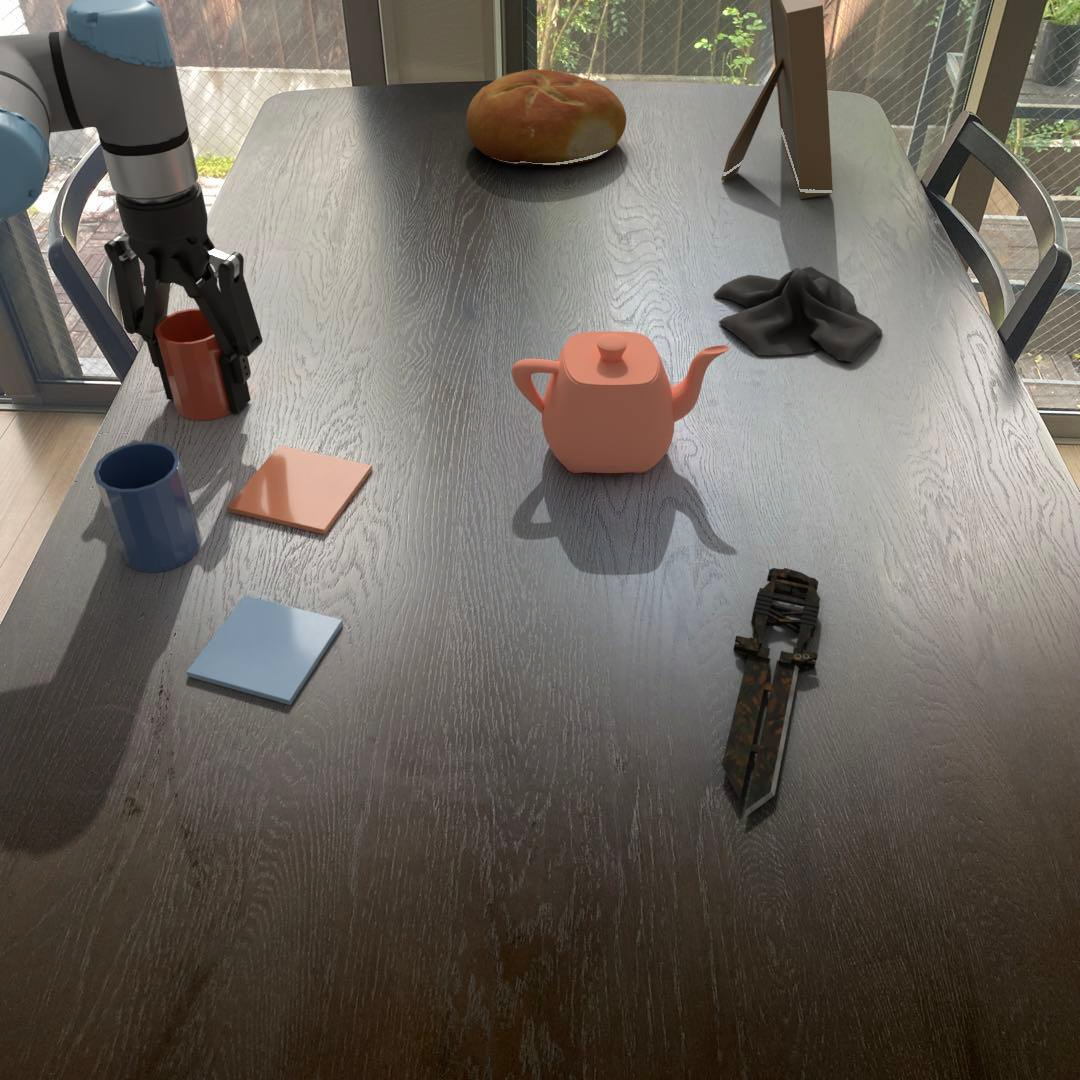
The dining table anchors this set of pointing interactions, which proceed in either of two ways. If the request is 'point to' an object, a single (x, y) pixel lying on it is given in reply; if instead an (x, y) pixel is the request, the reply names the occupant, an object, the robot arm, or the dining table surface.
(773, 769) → the knife
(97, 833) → the dining table surface
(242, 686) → the blue pad
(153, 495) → the blue cup
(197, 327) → the red cup
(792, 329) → the cloth
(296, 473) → the red pad
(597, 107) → the bread
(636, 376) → the teapot
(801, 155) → the photo frame
